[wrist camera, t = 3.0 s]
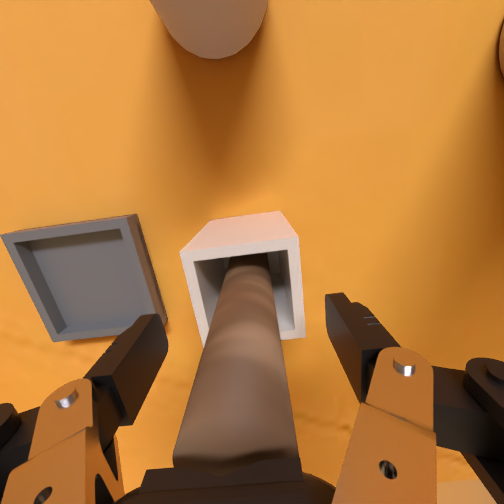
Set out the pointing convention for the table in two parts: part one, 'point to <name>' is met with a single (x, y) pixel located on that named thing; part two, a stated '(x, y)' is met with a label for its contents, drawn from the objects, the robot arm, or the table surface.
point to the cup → (242, 243)
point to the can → (212, 24)
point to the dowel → (239, 380)
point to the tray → (87, 276)
